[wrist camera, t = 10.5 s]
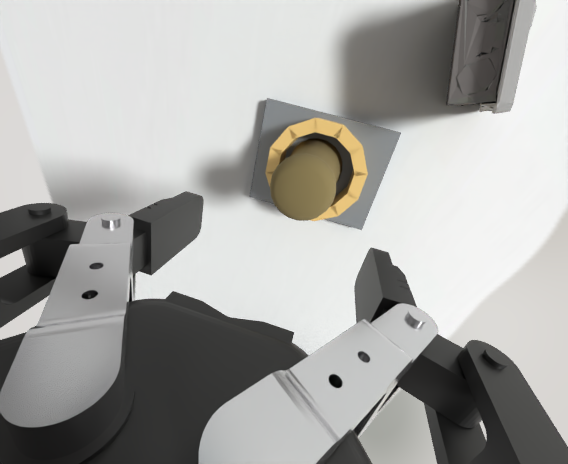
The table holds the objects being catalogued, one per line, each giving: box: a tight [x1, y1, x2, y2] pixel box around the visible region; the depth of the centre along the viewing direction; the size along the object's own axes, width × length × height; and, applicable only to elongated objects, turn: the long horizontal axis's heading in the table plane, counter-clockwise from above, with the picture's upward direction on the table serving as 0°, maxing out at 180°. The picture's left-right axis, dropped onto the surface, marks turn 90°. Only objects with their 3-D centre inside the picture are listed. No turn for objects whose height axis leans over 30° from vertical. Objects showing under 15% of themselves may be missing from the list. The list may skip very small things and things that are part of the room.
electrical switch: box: [446, 0, 536, 114], centre depth 20 cm, size 9×5×9 cm, turn 5°
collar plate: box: [250, 98, 401, 230], centre depth 28 cm, size 11×14×4 cm
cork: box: [270, 138, 342, 220], centre depth 24 cm, size 6×6×11 cm
